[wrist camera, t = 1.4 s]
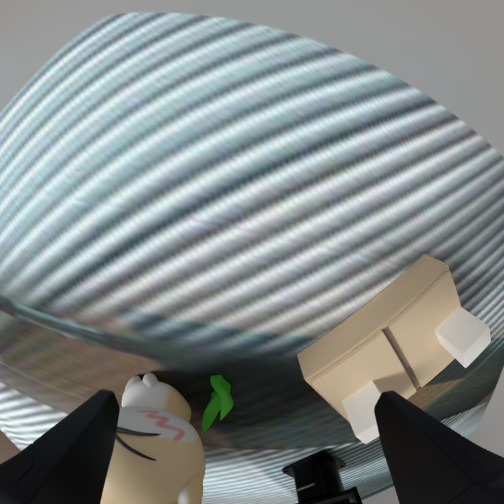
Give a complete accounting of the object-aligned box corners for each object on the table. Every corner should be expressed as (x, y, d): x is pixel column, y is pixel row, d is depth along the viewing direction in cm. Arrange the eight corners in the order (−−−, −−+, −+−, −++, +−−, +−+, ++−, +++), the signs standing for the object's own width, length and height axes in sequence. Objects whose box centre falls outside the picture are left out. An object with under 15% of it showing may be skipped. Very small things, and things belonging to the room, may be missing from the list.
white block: (468, 340, 19) (494, 363, 15) (419, 384, 20) (441, 413, 15) (447, 270, 17) (484, 290, 13) (387, 324, 18) (416, 357, 13)
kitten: (208, 334, 21) (176, 509, 7) (254, 411, 24) (262, 549, 9) (82, 370, 22) (14, 474, 8) (134, 433, 25) (101, 534, 10)
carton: (451, 325, 22) (470, 340, 19) (347, 407, 24) (357, 430, 21) (424, 253, 20) (448, 264, 17) (296, 354, 22) (304, 380, 19)
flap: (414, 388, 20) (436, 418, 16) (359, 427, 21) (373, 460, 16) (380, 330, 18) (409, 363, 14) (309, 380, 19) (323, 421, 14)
